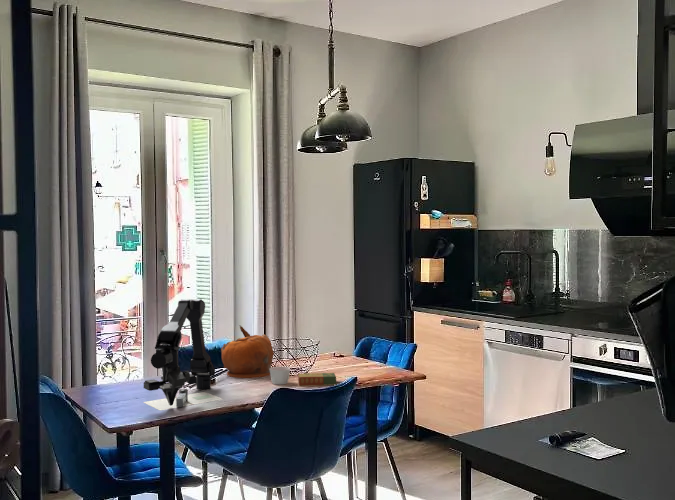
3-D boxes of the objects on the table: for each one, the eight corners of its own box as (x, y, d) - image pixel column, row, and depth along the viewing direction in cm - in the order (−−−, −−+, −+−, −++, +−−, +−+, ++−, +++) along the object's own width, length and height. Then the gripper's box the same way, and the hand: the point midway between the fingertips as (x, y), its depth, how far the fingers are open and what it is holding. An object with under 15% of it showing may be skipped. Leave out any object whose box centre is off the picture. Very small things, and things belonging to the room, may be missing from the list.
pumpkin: (213, 373, 317) (213, 325, 316) (257, 366, 333) (257, 320, 333) (241, 381, 300) (240, 330, 299) (286, 372, 317) (285, 324, 316)
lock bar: (179, 399, 262) (179, 389, 262) (188, 399, 262) (188, 388, 262) (175, 407, 249) (175, 396, 249) (184, 407, 250) (183, 396, 250)
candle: (265, 384, 292) (265, 369, 292) (275, 380, 301) (275, 366, 301) (284, 386, 289) (284, 371, 289) (293, 381, 297) (293, 367, 297)
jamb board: (142, 404, 259) (142, 401, 259) (204, 394, 275) (204, 391, 275) (159, 413, 246) (159, 410, 246) (223, 401, 262) (223, 398, 262)
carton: (298, 382, 297) (298, 373, 297) (334, 381, 298) (334, 372, 298) (299, 386, 288) (298, 376, 288) (336, 385, 290) (336, 375, 290)
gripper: (154, 370, 238) (155, 414, 238) (203, 363, 249) (204, 405, 249) (142, 365, 246) (143, 407, 247) (189, 358, 258) (190, 399, 258)
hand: (171, 405), depth 250 cm, fingers closed
